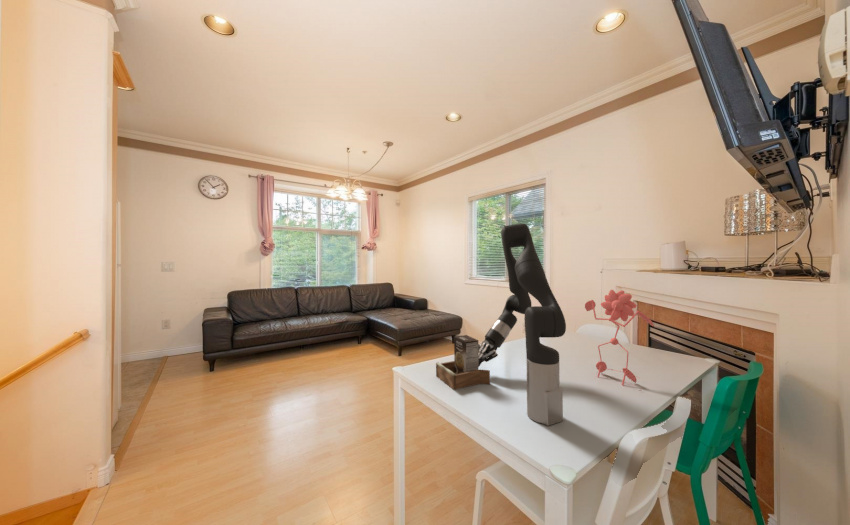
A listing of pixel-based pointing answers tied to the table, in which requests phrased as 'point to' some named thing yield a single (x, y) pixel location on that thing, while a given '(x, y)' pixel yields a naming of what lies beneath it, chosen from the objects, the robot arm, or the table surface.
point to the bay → (460, 376)
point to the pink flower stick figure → (617, 308)
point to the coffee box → (465, 354)
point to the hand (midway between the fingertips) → (474, 366)
